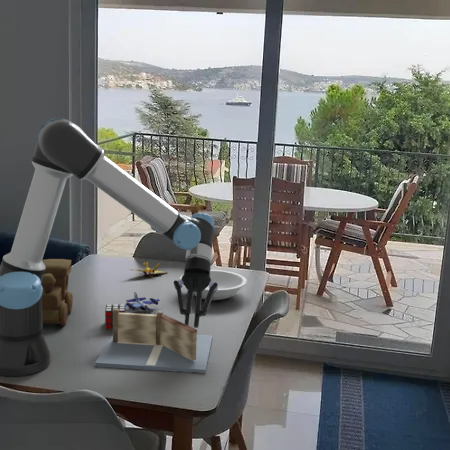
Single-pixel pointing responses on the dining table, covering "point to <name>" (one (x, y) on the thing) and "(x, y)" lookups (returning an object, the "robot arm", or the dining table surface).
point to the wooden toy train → (56, 291)
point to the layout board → (154, 356)
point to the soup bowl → (224, 284)
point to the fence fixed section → (136, 327)
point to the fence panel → (178, 337)
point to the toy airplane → (141, 303)
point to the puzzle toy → (110, 314)
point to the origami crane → (149, 269)
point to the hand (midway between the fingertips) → (190, 337)
